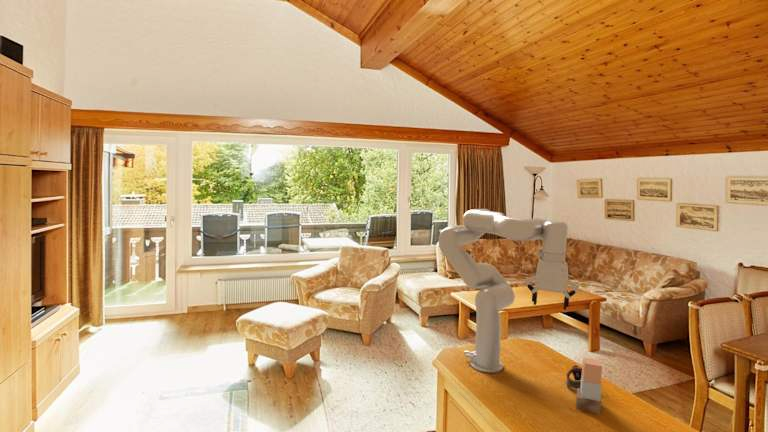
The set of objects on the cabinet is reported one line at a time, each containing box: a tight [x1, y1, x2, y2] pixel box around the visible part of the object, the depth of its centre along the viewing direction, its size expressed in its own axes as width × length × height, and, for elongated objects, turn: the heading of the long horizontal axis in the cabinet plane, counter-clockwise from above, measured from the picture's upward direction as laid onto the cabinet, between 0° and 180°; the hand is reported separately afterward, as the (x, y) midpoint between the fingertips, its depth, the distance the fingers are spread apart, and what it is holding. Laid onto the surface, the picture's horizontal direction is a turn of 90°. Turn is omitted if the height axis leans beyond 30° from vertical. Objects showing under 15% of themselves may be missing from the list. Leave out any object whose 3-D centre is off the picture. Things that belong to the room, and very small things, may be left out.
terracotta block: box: [581, 356, 603, 384], centre depth 136 cm, size 5×5×6 cm
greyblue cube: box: [580, 374, 603, 401], centre depth 136 cm, size 6×6×6 cm
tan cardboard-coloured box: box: [575, 388, 602, 415], centre depth 137 cm, size 7×7×4 cm
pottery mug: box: [565, 364, 582, 390], centre depth 150 cm, size 12×10×8 cm
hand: (549, 306), depth 144 cm, fingers open, 9 cm apart
